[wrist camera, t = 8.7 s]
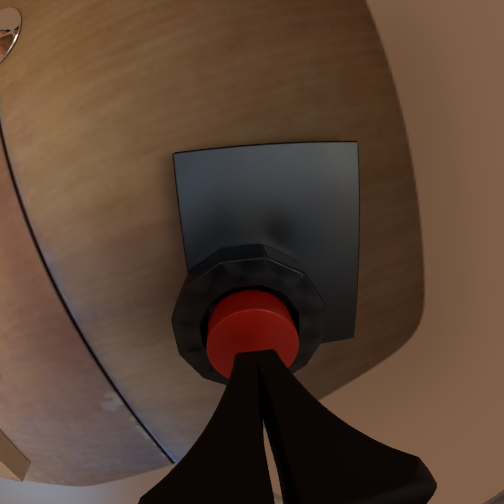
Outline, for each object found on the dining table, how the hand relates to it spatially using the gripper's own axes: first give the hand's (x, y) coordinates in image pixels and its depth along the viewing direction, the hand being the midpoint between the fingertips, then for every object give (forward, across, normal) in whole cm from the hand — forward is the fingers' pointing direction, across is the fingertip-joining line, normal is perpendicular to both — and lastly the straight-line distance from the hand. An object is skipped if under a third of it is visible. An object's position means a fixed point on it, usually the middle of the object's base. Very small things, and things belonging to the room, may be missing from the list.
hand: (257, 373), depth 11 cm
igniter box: (+7, -2, -2) cm, 7 cm away
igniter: (+3, 0, 0) cm, 3 cm away
